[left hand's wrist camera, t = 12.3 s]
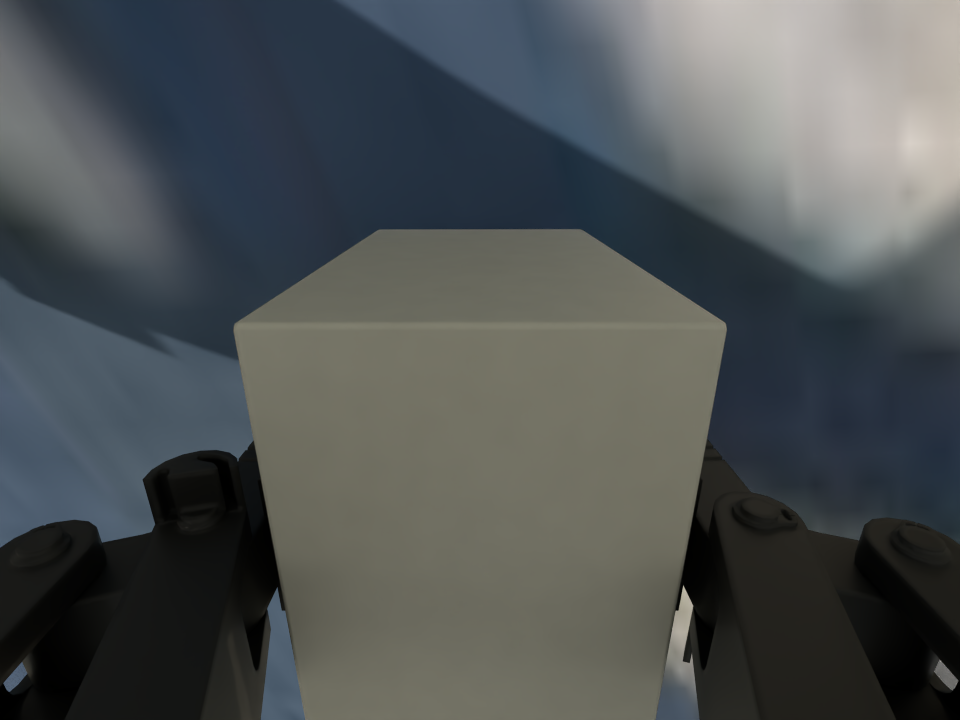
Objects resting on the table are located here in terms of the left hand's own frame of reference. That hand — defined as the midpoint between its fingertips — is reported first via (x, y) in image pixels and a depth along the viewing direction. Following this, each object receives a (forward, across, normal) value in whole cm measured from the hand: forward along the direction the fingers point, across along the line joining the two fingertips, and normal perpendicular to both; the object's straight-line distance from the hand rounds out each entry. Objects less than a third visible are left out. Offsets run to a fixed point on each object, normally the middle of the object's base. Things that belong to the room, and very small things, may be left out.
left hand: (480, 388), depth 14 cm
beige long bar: (+1, 0, -22) cm, 22 cm away
